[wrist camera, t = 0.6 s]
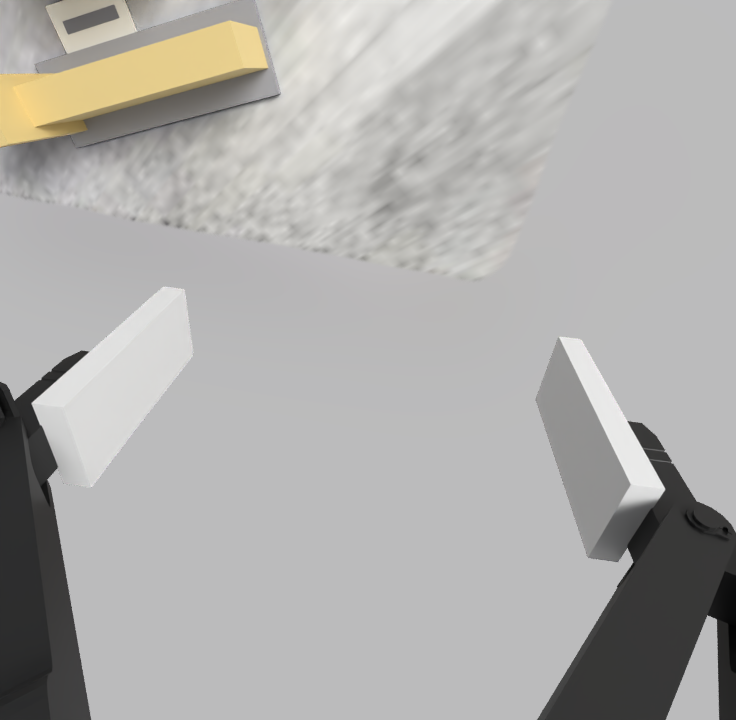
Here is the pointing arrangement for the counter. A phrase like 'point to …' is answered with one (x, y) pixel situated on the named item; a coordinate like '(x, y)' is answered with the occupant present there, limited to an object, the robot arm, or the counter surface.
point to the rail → (142, 79)
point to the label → (90, 22)
